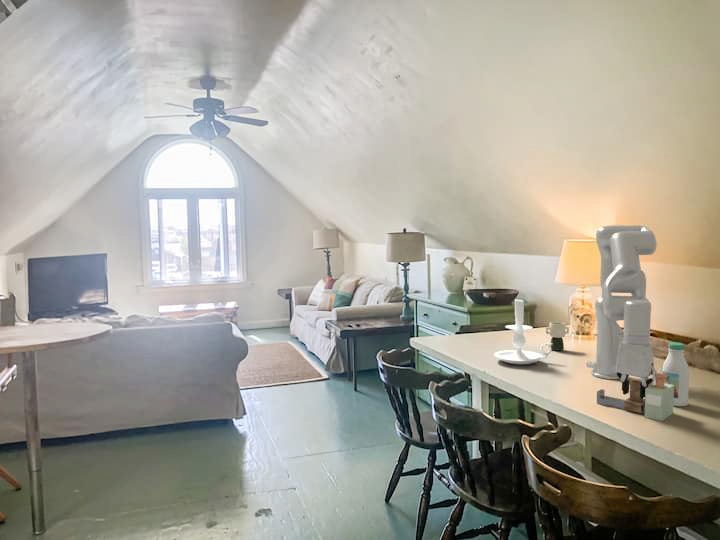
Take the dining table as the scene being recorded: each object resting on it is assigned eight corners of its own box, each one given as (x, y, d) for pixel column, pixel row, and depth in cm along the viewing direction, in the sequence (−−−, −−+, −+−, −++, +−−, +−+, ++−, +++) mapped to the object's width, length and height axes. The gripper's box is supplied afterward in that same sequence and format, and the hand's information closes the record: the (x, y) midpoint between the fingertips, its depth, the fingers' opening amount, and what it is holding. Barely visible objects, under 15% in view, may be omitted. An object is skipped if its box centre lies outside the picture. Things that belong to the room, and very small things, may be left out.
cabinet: (644, 417, 168) (644, 388, 168) (655, 409, 176) (656, 381, 175) (661, 421, 165) (662, 392, 164) (673, 413, 172) (674, 385, 171)
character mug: (565, 348, 266) (566, 321, 265) (571, 351, 259) (571, 324, 258) (543, 348, 266) (543, 322, 265) (548, 351, 259) (548, 324, 258)
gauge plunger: (652, 396, 170) (653, 374, 170) (656, 394, 172) (656, 372, 172) (663, 398, 168) (663, 376, 167) (666, 396, 170) (667, 374, 169)
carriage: (624, 409, 175) (624, 382, 174) (631, 404, 179) (632, 378, 179) (640, 412, 171) (641, 385, 171) (648, 408, 176) (648, 381, 175)
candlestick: (559, 368, 228) (560, 301, 226) (498, 368, 229) (499, 301, 227) (545, 357, 248) (546, 295, 246) (490, 356, 250) (490, 295, 248)
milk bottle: (678, 399, 186) (680, 341, 184) (693, 406, 178) (695, 345, 177) (656, 400, 186) (658, 341, 184) (669, 407, 178) (672, 346, 176)
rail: (596, 403, 182) (596, 391, 182) (601, 400, 185) (601, 389, 185) (648, 414, 171) (648, 402, 171) (652, 411, 173) (652, 399, 173)
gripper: (604, 337, 177) (602, 392, 179) (660, 345, 165) (658, 404, 167) (614, 333, 183) (612, 387, 184) (669, 341, 170) (667, 399, 172)
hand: (634, 394), depth 176 cm, fingers open, 4 cm apart
